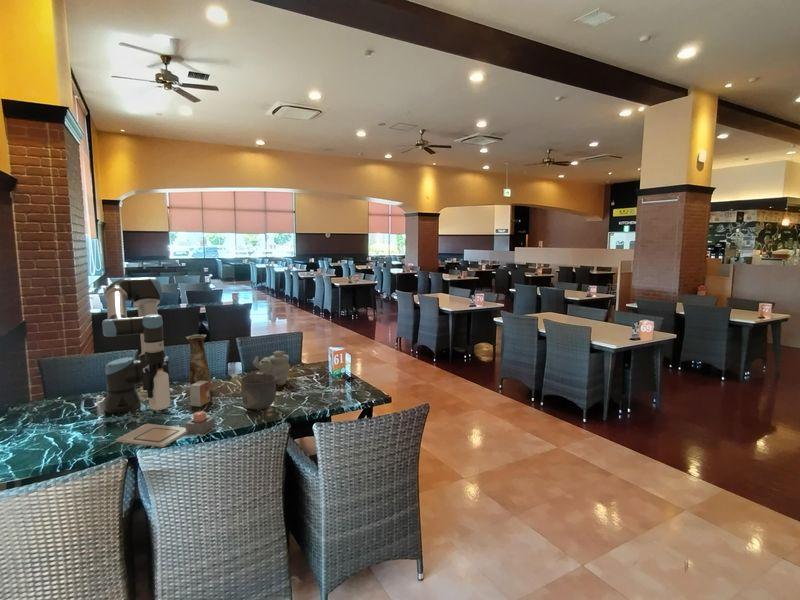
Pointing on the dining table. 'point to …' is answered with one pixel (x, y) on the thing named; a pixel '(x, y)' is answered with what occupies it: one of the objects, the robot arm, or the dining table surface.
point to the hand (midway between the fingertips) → (157, 401)
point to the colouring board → (153, 435)
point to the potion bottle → (161, 390)
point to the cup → (258, 390)
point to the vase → (198, 360)
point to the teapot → (275, 366)
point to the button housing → (200, 426)
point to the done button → (199, 417)
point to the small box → (200, 393)
